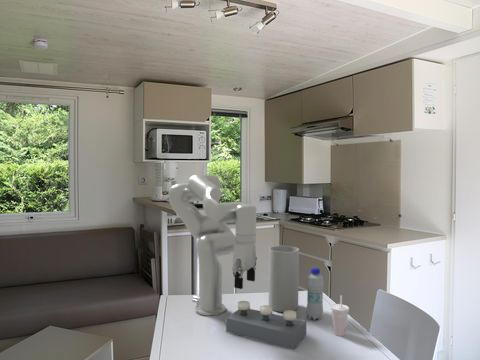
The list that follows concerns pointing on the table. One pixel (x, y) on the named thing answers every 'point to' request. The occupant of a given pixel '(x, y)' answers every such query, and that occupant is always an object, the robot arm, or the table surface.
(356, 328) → the table surface
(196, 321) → the table surface
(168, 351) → the table surface
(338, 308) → the smoothie
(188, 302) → the table surface
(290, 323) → the knob
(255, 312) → the control panel
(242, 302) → the knob
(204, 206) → the robot arm
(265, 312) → the knob middle
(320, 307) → the bottle
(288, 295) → the cylinder vase
